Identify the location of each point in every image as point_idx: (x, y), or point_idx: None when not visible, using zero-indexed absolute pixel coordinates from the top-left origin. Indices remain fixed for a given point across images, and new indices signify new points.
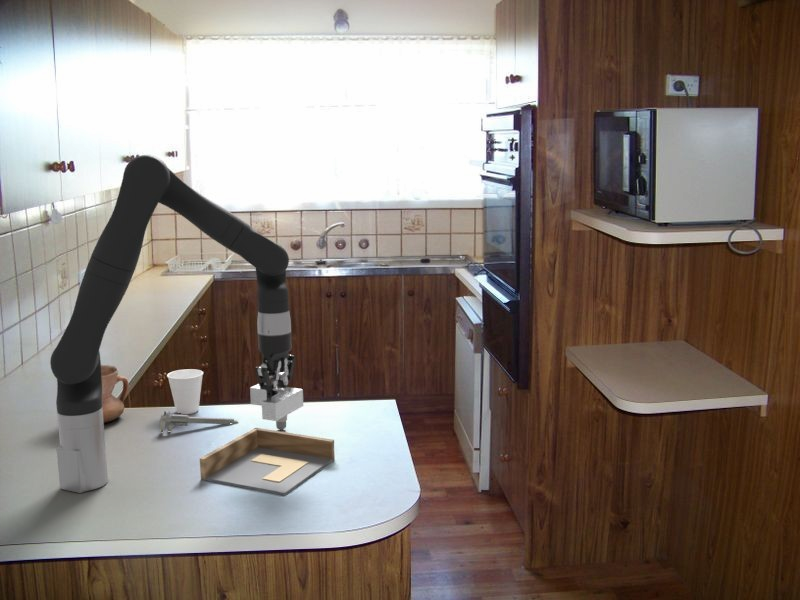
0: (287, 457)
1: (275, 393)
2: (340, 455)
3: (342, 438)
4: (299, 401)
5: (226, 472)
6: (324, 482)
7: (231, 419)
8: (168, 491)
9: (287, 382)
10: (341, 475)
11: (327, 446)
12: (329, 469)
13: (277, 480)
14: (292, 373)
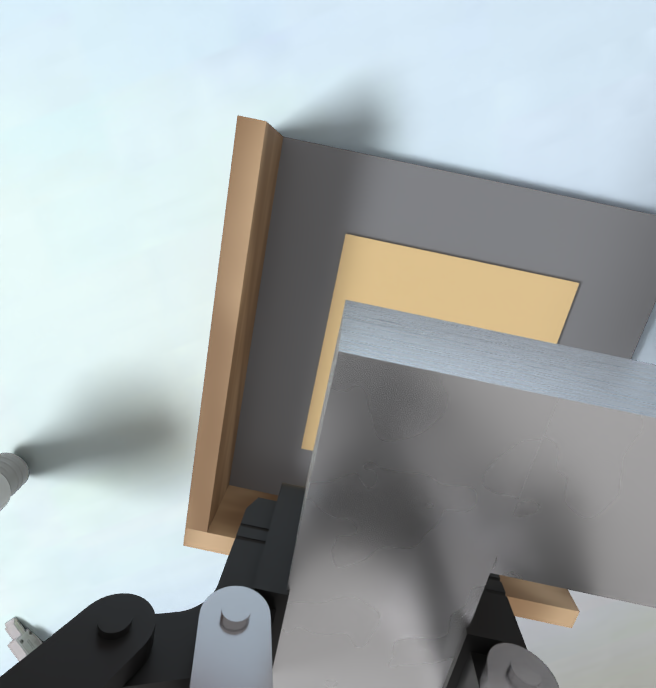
0: (307, 341)
1: (487, 611)
2: (202, 123)
3: (5, 184)
4: (416, 330)
5: None
6: (528, 91)
7: (21, 648)
8: (641, 613)
9: (232, 608)
10: (437, 32)
11: (267, 155)
12: (375, 119)
13: (566, 296)
14: (21, 669)
